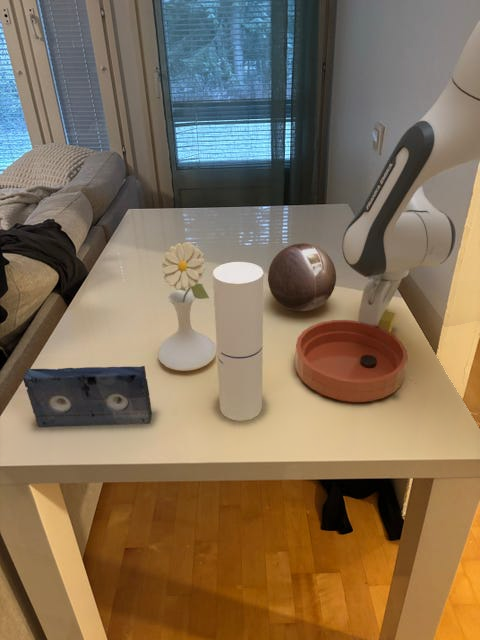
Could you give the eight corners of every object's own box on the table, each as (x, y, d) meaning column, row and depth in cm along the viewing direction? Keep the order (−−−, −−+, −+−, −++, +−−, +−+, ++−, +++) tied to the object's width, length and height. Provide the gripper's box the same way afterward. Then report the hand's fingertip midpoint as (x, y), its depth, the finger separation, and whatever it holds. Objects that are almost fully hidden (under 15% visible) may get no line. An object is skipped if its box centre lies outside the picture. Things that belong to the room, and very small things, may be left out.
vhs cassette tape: (153, 412, 78) (145, 365, 73) (150, 425, 75) (142, 376, 70) (43, 414, 78) (28, 366, 73) (37, 427, 75) (21, 378, 70)
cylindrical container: (245, 427, 75) (243, 288, 62) (211, 409, 78) (202, 274, 65) (270, 402, 79) (273, 269, 66) (237, 387, 83) (233, 257, 70)
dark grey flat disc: (378, 361, 88) (378, 357, 87) (374, 370, 85) (374, 365, 85) (362, 357, 89) (363, 353, 88) (357, 365, 87) (358, 361, 86)
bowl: (412, 356, 90) (417, 334, 88) (388, 419, 76) (393, 395, 73) (317, 331, 98) (318, 311, 96) (278, 384, 84) (279, 361, 81)
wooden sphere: (302, 331, 98) (306, 266, 91) (254, 306, 108) (254, 245, 100) (346, 307, 107) (353, 246, 99) (298, 286, 116) (301, 228, 109)
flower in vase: (147, 357, 91) (129, 237, 78) (193, 335, 98) (184, 221, 85) (186, 389, 83) (173, 260, 70) (234, 363, 89) (230, 240, 76)
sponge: (392, 329, 99) (395, 312, 97) (387, 338, 96) (390, 321, 94) (364, 322, 101) (366, 306, 99) (358, 331, 98) (361, 314, 96)
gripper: (390, 287, 81) (379, 352, 88) (413, 247, 97) (402, 305, 104) (354, 280, 84) (346, 344, 91) (382, 242, 99) (374, 299, 106)
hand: (376, 323), depth 98 cm, fingers closed on sponge, 4 cm apart
